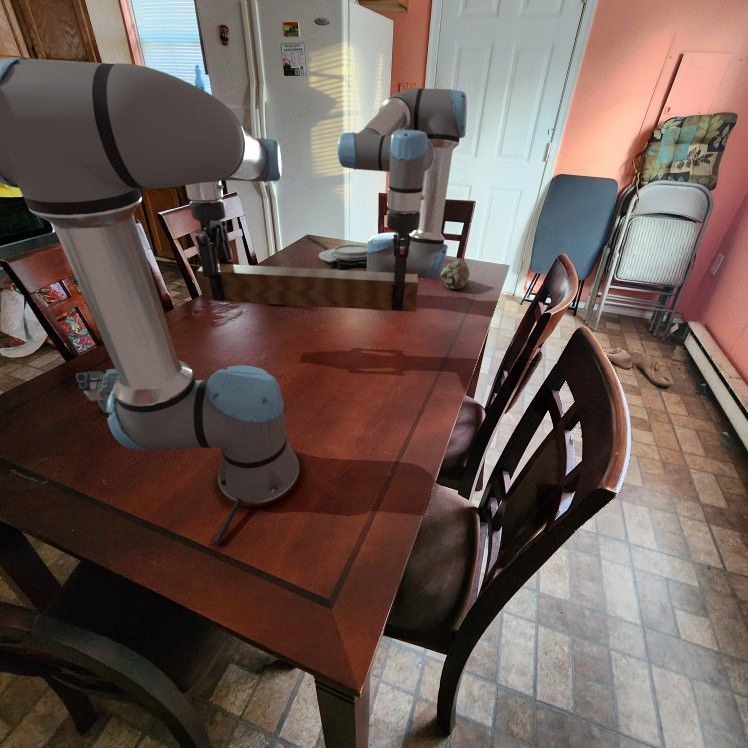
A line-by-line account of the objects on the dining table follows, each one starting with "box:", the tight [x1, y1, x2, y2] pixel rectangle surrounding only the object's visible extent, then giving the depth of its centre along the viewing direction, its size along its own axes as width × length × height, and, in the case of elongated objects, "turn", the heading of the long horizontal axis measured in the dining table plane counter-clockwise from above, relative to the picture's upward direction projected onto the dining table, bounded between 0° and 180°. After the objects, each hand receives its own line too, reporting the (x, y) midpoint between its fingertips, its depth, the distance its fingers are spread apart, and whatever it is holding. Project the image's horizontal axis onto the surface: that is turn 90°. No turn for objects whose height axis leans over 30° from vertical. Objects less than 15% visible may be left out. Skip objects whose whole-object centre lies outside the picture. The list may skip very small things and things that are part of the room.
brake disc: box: [318, 244, 368, 270], centre depth 182 cm, size 32×30×5 cm
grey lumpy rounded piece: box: [439, 258, 470, 290], centre depth 162 cm, size 11×11×15 cm
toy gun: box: [75, 368, 119, 414], centre depth 92 cm, size 4×19×10 cm
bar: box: [196, 263, 419, 313], centre depth 105 cm, size 54×6×8 cm, turn 88°
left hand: (223, 294), depth 107 cm, fingers closed on bar, 6 cm apart
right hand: (397, 304), depth 106 cm, fingers closed on bar, 6 cm apart
